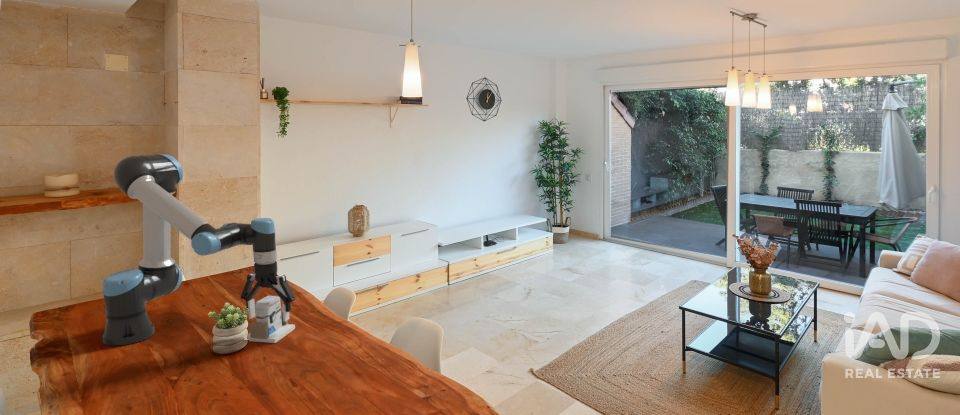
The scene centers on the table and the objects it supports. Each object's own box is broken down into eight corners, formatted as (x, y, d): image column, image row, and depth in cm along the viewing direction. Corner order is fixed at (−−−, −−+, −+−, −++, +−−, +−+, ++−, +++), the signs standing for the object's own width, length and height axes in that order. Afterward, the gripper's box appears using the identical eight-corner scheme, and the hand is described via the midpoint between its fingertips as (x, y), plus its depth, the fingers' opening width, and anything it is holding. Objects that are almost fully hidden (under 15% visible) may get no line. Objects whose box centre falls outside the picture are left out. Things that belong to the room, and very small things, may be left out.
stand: (243, 341, 175) (241, 323, 174) (266, 325, 188) (265, 309, 187) (274, 343, 173) (273, 326, 172) (295, 327, 186) (294, 311, 185)
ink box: (269, 335, 176) (266, 303, 174) (256, 334, 177) (254, 302, 175) (282, 326, 184) (280, 295, 182) (270, 325, 185) (268, 295, 183)
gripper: (226, 262, 175) (231, 320, 178) (291, 266, 170) (295, 325, 174) (240, 257, 182) (244, 312, 185) (303, 260, 178) (306, 317, 181)
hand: (269, 318), depth 180 cm, fingers open, 13 cm apart
